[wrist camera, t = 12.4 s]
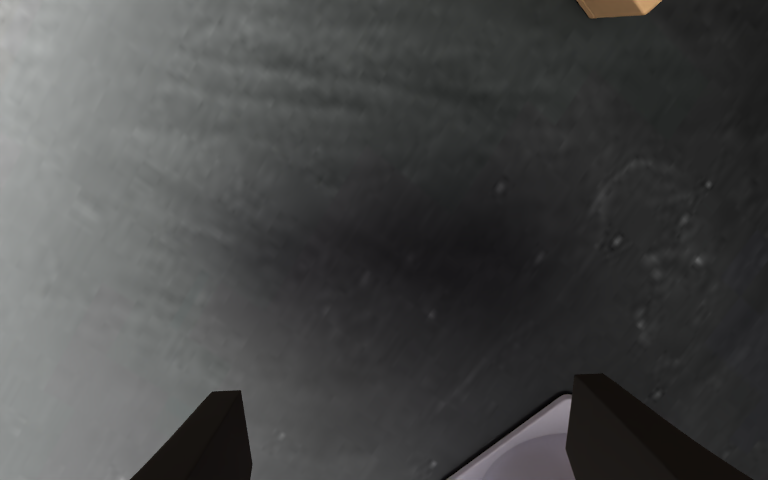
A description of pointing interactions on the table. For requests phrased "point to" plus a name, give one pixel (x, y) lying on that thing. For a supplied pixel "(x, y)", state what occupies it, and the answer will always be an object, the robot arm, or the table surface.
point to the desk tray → (617, 7)
